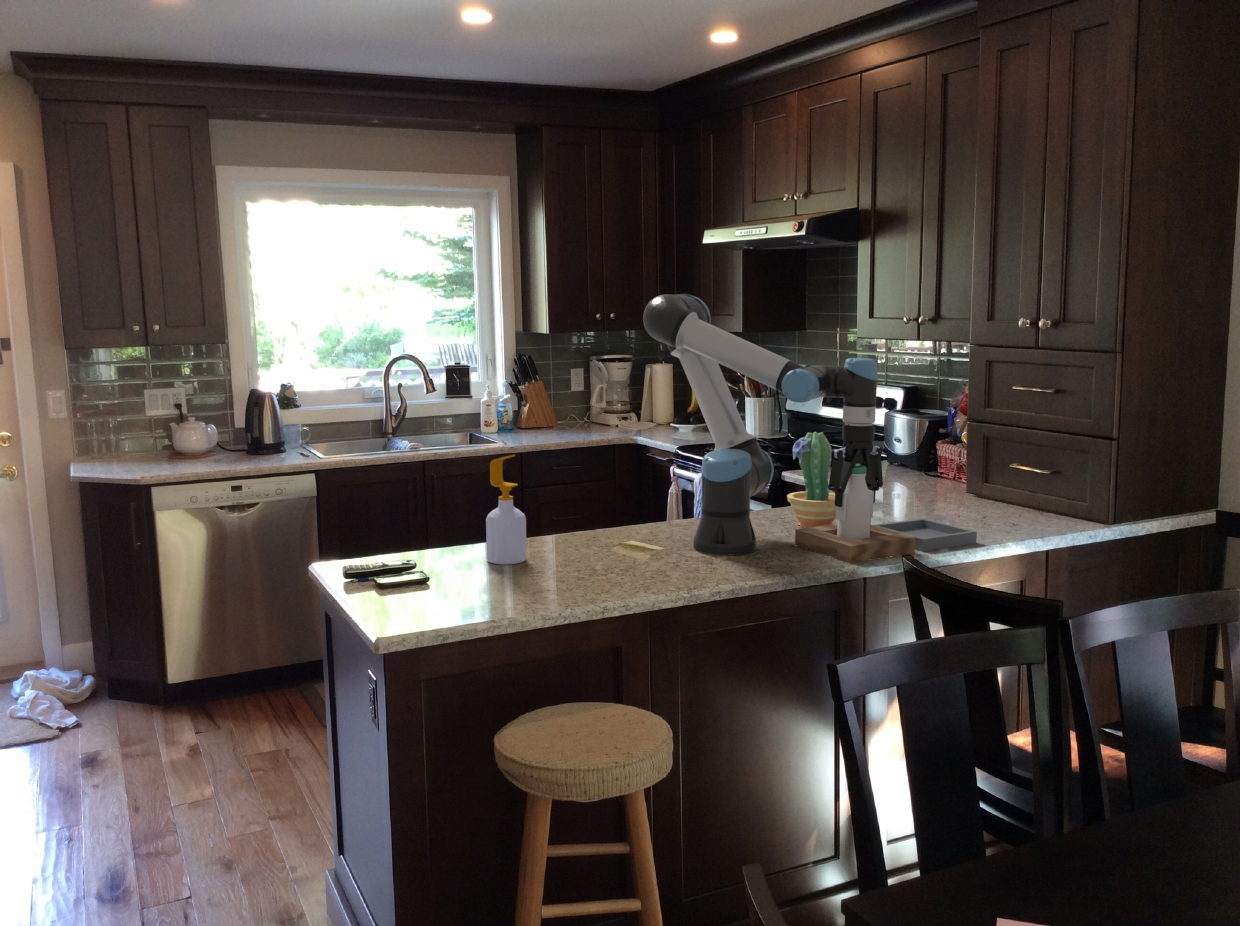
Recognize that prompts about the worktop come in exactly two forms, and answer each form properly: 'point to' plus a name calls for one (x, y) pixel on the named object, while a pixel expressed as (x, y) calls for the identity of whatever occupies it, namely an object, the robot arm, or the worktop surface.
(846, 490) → the milk bottle
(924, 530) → the tray
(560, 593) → the worktop surface
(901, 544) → the block
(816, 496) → the potted cactus
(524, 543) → the soap bottle
